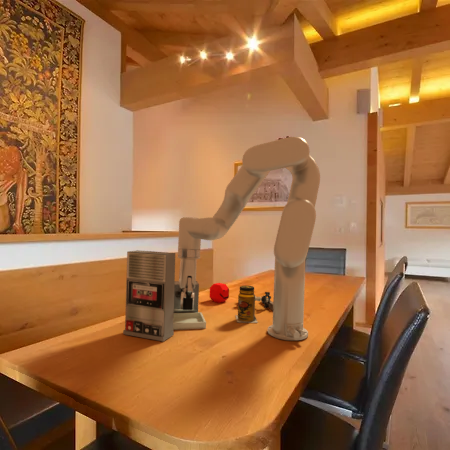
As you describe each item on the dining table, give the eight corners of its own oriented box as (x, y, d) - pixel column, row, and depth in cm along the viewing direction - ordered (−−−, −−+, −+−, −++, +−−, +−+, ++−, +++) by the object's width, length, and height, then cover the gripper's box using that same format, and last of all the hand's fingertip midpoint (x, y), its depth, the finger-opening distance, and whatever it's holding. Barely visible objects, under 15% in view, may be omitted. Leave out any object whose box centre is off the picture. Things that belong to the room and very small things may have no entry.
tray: (205, 328, 101) (206, 322, 101) (171, 329, 99) (171, 323, 99) (201, 317, 112) (201, 312, 112) (169, 318, 110) (169, 313, 110)
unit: (198, 317, 112) (199, 284, 112) (170, 318, 110) (171, 284, 110) (195, 312, 119) (196, 280, 119) (169, 313, 116) (170, 281, 116)
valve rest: (276, 310, 124) (276, 304, 124) (247, 311, 122) (247, 305, 122) (264, 301, 138) (264, 296, 138) (238, 302, 135) (238, 296, 135)
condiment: (237, 322, 108) (238, 288, 108) (235, 315, 116) (236, 283, 116) (257, 323, 108) (259, 288, 108) (254, 316, 117) (255, 284, 116)
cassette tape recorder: (122, 335, 93) (125, 251, 93) (135, 328, 99) (137, 250, 98) (162, 342, 88) (165, 254, 88) (173, 335, 94) (176, 253, 94)
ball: (219, 304, 131) (220, 286, 131) (206, 301, 136) (206, 283, 136) (231, 301, 137) (232, 284, 137) (218, 298, 142) (218, 281, 142)
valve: (239, 307, 130) (265, 310, 124) (237, 292, 129) (263, 295, 123) (246, 301, 136) (271, 304, 129) (244, 287, 135) (270, 289, 128)
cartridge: (195, 309, 105) (196, 291, 105) (183, 310, 102) (184, 292, 102) (189, 306, 108) (191, 289, 108) (177, 307, 106) (179, 289, 106)
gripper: (176, 251, 113) (174, 301, 113) (179, 256, 96) (177, 315, 96) (197, 251, 114) (195, 301, 114) (203, 256, 98) (201, 314, 98)
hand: (186, 306), depth 105 cm, fingers closed on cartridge, 4 cm apart
